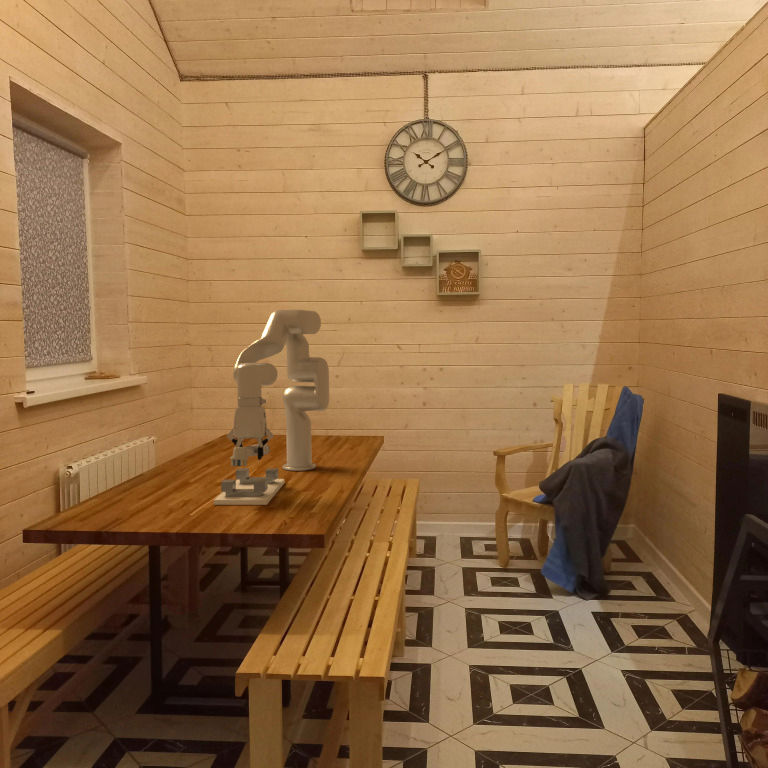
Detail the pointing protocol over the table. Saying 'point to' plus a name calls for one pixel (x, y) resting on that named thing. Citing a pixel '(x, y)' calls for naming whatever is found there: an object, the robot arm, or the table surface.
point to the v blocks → (244, 478)
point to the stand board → (250, 500)
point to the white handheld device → (246, 454)
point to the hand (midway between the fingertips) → (250, 458)
